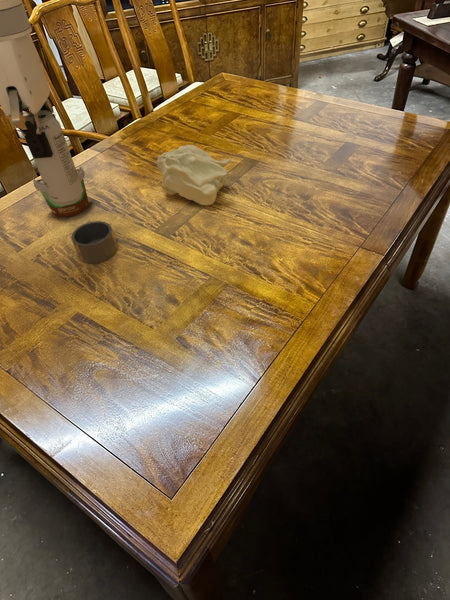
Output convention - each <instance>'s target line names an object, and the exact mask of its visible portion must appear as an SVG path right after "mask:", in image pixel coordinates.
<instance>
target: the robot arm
mask: <svg viewBox="0 0 450 600" xmlns="http://www.w3.org/2000/svg"><path fill="white" fill-rule="evenodd" d="M32 32H33V29H32V26H31V23H30V19H29V17H28V14H27V11H26V8H25V5H24V3H23V0H0V107H1V110H2V112H3V113H4V115H5V116H6V117H8V118H10V119H11V123H12V124H13V125H14V126H15V127H16V128H17V129H18V130H19V131H20V133H21V135H22V136H23V137H25V138H24V140H25V142H26V144H28V145H27V147H28V150H29V151H30V154H31V156H32V159H33V158H35V159H37V158H47V157H52V155H53V152H52V150H51V147H50V144H49V142H48V139H47V137H46V134H45V131H44V132H42V130H41V126H40V122H39V118H38V114H37V113H38V112H39V111H41V110H46V111H50V112H52V115H53V117H54V118H56V119H57V117H56V114H55V113H54V111H55V110H54V107H53V105H52V103H51V100H50V99H51V98H50V91H51V88H50V85H49V81H48V79H47V78H48V77H47V76H46V73H45V70H44V67H43V65H42V61H41V59H40V57H39V53H38V51H37V49H36V47H35V44H34V42H33V39H32V37H31V35H30V34H31V33H32ZM26 109H27V110H28V109H29V112H28V111H27V112H24V111H23V110H26ZM24 117H32V119H33V123H34V124H32V123H31V122H30V121H26V119H25V118H24Z"/></svg>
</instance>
